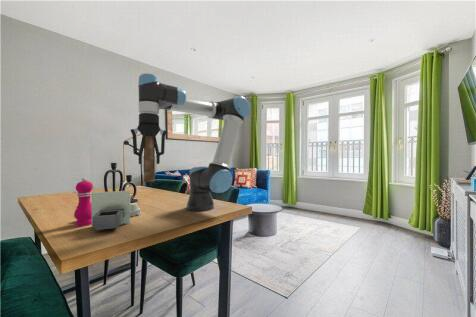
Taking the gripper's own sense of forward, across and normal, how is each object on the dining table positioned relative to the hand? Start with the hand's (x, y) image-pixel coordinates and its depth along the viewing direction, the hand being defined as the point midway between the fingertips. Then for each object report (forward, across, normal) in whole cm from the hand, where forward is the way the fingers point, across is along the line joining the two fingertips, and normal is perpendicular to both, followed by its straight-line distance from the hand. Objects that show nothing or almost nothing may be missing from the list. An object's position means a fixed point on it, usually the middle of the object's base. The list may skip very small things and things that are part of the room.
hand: (149, 172), depth 85 cm
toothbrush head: (+23, +17, -22) cm, 37 cm away
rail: (+4, 0, 0) cm, 4 cm away
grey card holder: (+23, +15, -5) cm, 28 cm away
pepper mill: (+23, +26, -16) cm, 38 cm away
